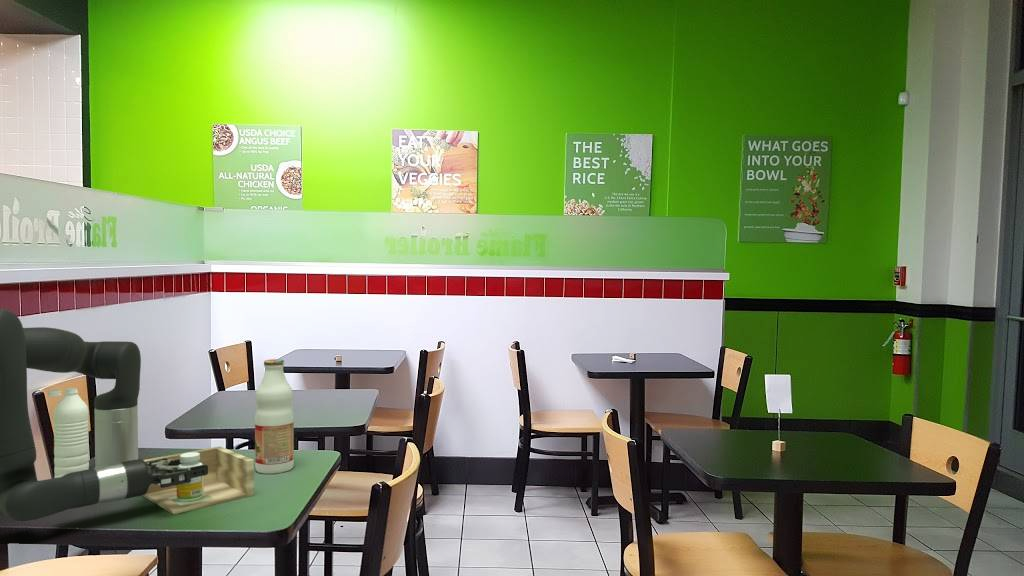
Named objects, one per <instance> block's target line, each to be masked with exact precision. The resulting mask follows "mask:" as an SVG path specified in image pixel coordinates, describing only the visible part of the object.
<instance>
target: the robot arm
mask: <svg viewBox="0 0 1024 576" xmlns="http://www.w3.org/2000/svg"><path fill="white" fill-rule="evenodd" d="M141 360H142V357H141V351H140V348H139V346H138V345H137V343H135V342H133V341H118V340H117V341H109V340H108V341H85V340H84V339H83V338H82V337H81V336H80V335H79V334H77V333H76V332H73V331H69V330H64V329H61V328H54V327H47V326H46V327H38V326H37V327H24V326H23V324H22V322H21V320H20V318H19V316H18V315H16V313H14V312H13V311H11V310H10V309H7V308H0V512H1V514H3V515H4V516H5V517H8V519H9V518H10V519H11V520H13V521H18V522H29V521H34V520H38V519H42V518H45V517H49V516H51V515H52V516H53V515H56V514H59V513H61V512H64V511H67V510H71V509H77V508H78V509H79V508H83V507H88V506H93V505H98V504H107V503H108V504H109V503H113V502H118V501H121V500H122V501H123V500H126V499H132V498H137V497H141V496H143V495H145V494H146V493H147V491H148V488H149V486H150V485H151V484H156V485H160V487H161V488H165V487H169V486H174V485H179V484H184V483H189V482H191V478H195V477H199V476H204V475H207V474H208V466H207V465H205V464H204V465H199V466H194V467H187V468H180V467H179V466H178V465H180V464H181V462H180V459H176V460H174V461H173V459H169V460H167V458H163V459H158V460H153V461H148V462H145V461H144V460H145V459H141V458H139V433H138V432H139V421H138V420H139V419H138V418H139V417H138V406H139V405H138V403H139V402H138V399H139V396H140V389H141V388H140V385H141V365H142V361H141ZM28 369H31V370H37V371H42V372H49V373H60V374H62V373H63V374H65V373H66V374H68V373H73V372H74V373H77V374H82V375H84V376H88V377H90V378H94V379H99V380H115V384H114V388H112V389H111V390H109V391H107V392H104V393H101V394H98V395H97V396H95V398H94V455H95V456H94V468H93V467H92V468H89V469H88V470H82V471H76V472H72V473H68V474H65V475H64V476H62V477H59V478H48V479H41V480H38V476H37V471H36V466H35V462H36V461H37V449H36V444H35V439H34V435H33V430H32V425H31V420H30V413H29V404H28V402H29V401H28ZM173 471H174V472H173ZM183 474H184V477H180V475H183Z"/></svg>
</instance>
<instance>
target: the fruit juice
mask: <svg viewBox="0 0 1024 576" xmlns="http://www.w3.org/2000/svg"><path fill="white" fill-rule="evenodd" d="M263 365H264V366H263V367H264V369H265V370H264V375H263V377H262V380H261V382H260V385H259V386H258V387H257V389H256V391H255V395H254V396H255V397H254V398H255V402H256V405H257V407H256V410H255V413H254V469H255V471H256V472H257V473H259V474H265V475H267V474H269V475H272V474H274V475H275V474H279V473H285V472H288V471H291V470H292V469H293V468H294V465H295V455H294V454H295V449H294V448H295V446H294V444H295V443H294V442H295V441H294V439H295V436H294V435H295V434H294V433H295V432H294V431H295V429H294V427H295V425H294V422H295V417H294V416H295V415H294V410H293V407H292V401H293V399H294V392H293V391H294V390H293V388H292V387H291V385H290V384H289V383H288V380H287V379H286V375H285V373H284V367H285V359H282V358H271V359H270V358H269V359H265V360H264V362H263Z"/></svg>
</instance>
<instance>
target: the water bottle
mask: <svg viewBox="0 0 1024 576" xmlns="http://www.w3.org/2000/svg"><path fill="white" fill-rule="evenodd" d="M62 393H63V394H62ZM78 393H79V391H78V387H67V388H64V392H63V391H62V390H59V389H57V390H49V391H47V396H48V397H59V396H62V395H63V397H62V398H61V399H60V401H58V404H57V405H56V406H55V408H54V411H53V422H54V423H53V433H54V434H53V437H54V438H53V445H54V446H53V455H54V458H53V464H54V470H53V471H54V476H53V477H54V478H59V477H62V476H64V475H65V474H68V473H72V472H76V471H82V470H88V469H90V462H89V461H90V452H89V451H90V445H89V432H90V431H89V429H90V428H89V407H88V405H87V404H86V402H85V401H84V400H83V399H82V397H81V396H80V395H79V394H78Z"/></svg>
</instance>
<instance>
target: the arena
mask: <svg viewBox="0 0 1024 576" xmlns="http://www.w3.org/2000/svg"><path fill="white" fill-rule="evenodd" d="M190 452H197V453H200V460H199V462H200V463H202V464H203V465H204V464H205V465H207V466H208V474H207V475H204V476H203V482H204V495H203V497H202V498H201V499H199V500H196V501H190V502H181V501H178V500H177V485H174V486H169V487H165V488H161V487H160V485H156V484H151V485H150V486H149V488H148V491H147V493H146V494H145V495H142V497H145V499H147V500H148V501H151V502H152V503H154V504H155V505H157V506H159V507H160V508H162V509H163V510H165V511H167V512H168V513H170V514H171V515H177V514H181V513H184V512H188V511H193V510H197V509H198V510H199V509H201V508H206V507H210V506H213V505H214V506H215V505H219V504H222V503H227V502H232V501H235V500H239V499H243V498H249V497H251V496H254V495H255V459H253V458H250V457H247V456H244V455H242V454H240V453H237V452H235V451H232V450H230V449H227V448H225V447H223V446H214V447H208V448H204V449H197V450H192V451H187V452H180V453H176V454H175V453H174V454H171V455H163V456H160V457H158V456H157V457H152V458H148V459H143V460H144V461H145V462H148V461H153V460H158V459H163V458H167V460H169V459H173V461H174V460H176V459H180V455H181V454H184V453H190ZM173 472H174V471H173Z"/></svg>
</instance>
